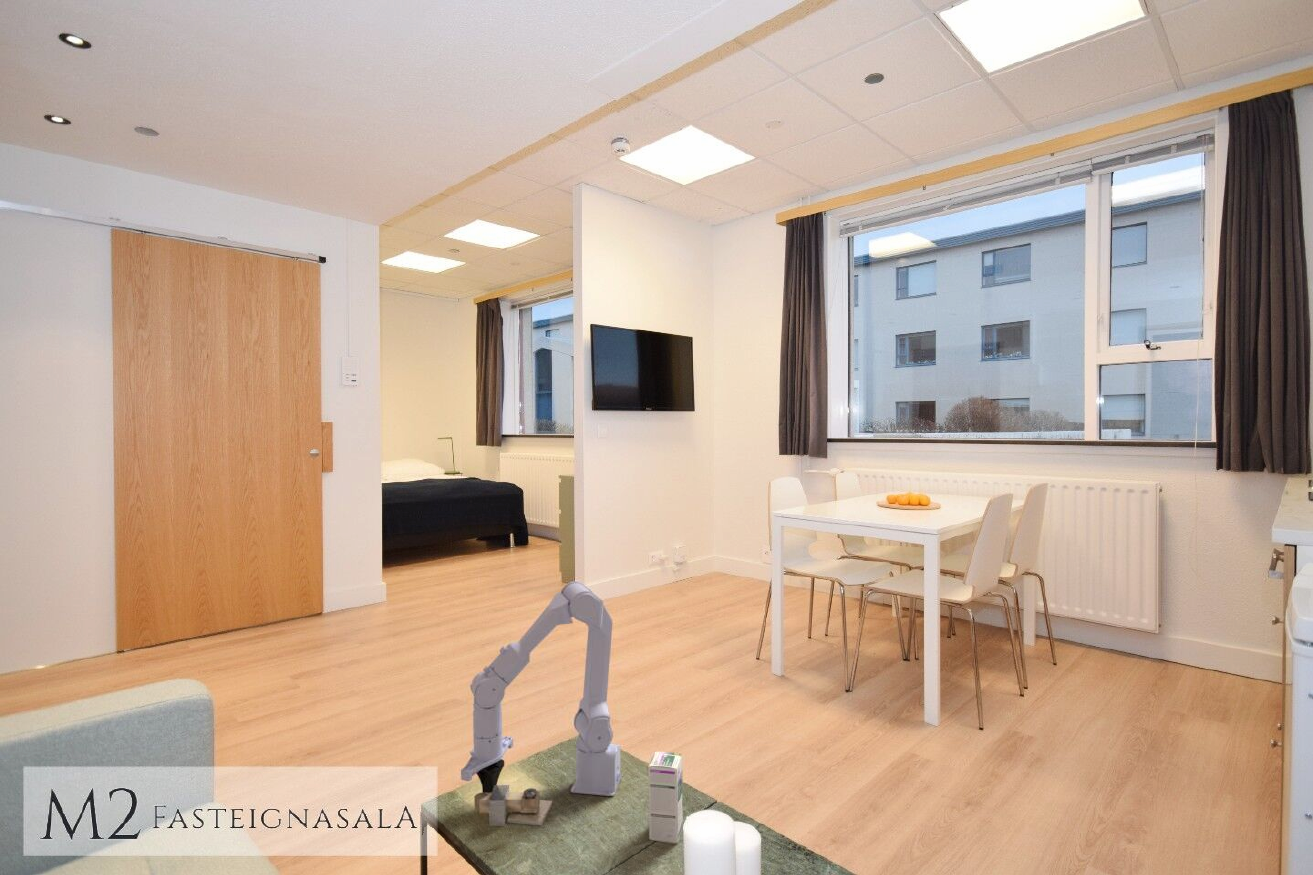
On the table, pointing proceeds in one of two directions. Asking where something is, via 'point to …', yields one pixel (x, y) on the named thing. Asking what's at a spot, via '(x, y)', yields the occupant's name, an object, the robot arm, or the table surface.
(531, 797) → the pintle base
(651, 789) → the syrup box
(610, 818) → the table surface
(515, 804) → the link
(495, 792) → the block
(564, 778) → the table surface
